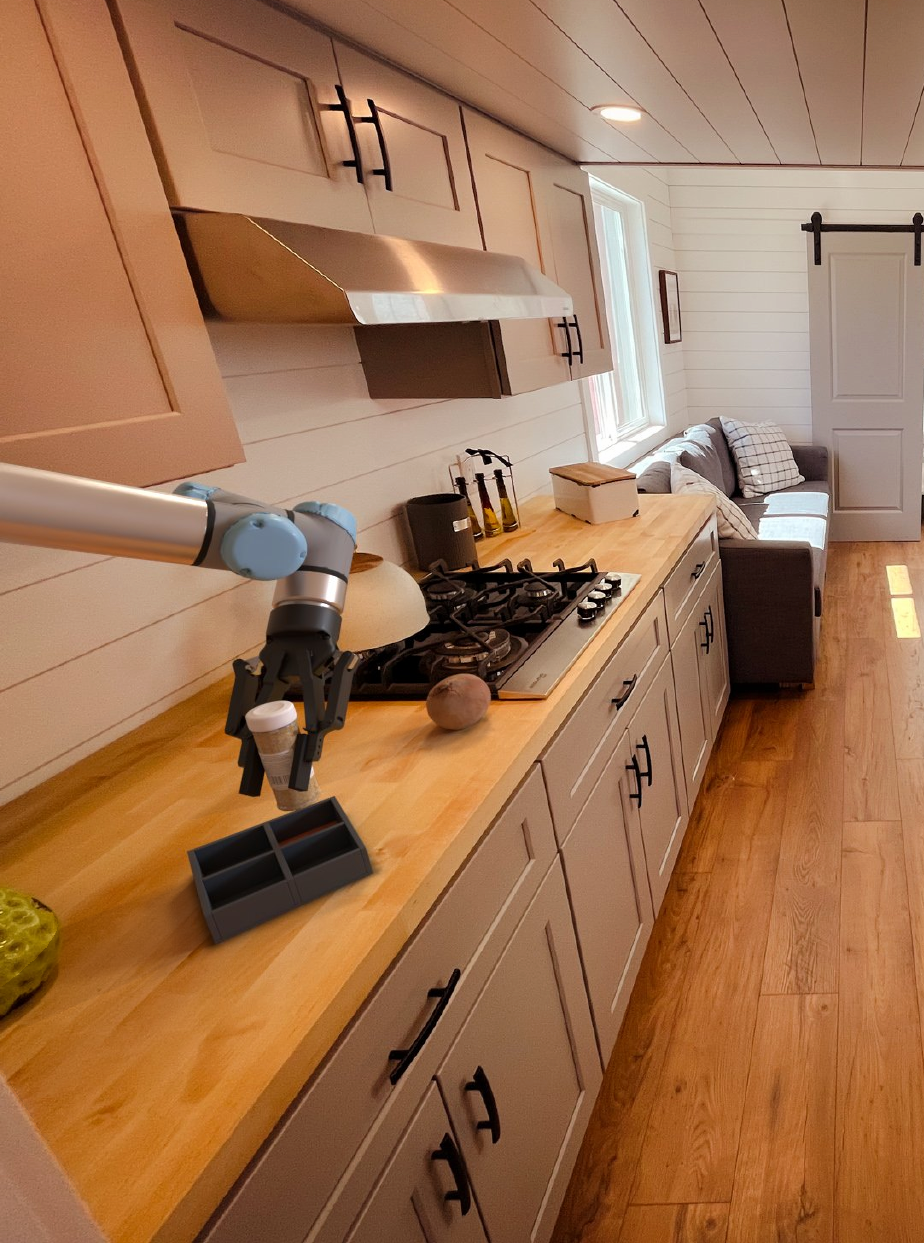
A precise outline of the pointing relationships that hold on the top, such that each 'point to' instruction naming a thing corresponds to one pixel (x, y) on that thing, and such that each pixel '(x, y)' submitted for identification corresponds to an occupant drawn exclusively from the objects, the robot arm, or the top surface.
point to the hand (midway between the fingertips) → (273, 791)
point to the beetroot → (458, 701)
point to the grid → (276, 867)
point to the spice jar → (280, 752)
